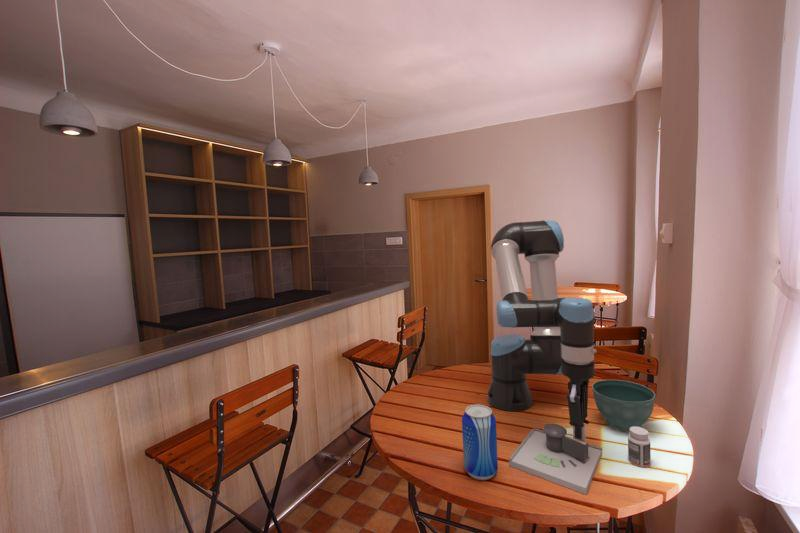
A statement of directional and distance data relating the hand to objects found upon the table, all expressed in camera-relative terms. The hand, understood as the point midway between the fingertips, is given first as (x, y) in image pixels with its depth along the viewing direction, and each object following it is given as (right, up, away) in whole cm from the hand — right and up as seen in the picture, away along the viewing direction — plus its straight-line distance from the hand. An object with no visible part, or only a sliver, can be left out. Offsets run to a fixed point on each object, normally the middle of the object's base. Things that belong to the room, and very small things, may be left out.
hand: (579, 447), depth 92 cm
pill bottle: (+14, -3, -1) cm, 15 cm away
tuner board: (-6, -4, +1) cm, 7 cm away
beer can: (-26, -5, -2) cm, 27 cm away
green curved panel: (-5, -2, -1) cm, 6 cm away
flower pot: (+21, -1, +16) cm, 27 cm away
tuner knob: (-3, -2, +2) cm, 4 cm away
